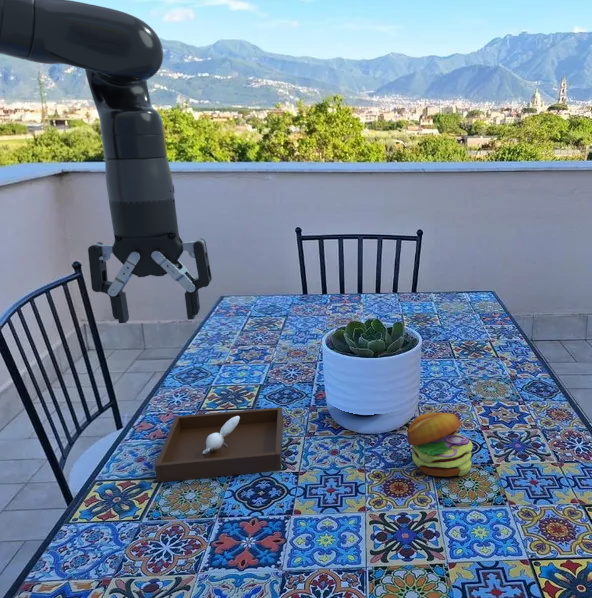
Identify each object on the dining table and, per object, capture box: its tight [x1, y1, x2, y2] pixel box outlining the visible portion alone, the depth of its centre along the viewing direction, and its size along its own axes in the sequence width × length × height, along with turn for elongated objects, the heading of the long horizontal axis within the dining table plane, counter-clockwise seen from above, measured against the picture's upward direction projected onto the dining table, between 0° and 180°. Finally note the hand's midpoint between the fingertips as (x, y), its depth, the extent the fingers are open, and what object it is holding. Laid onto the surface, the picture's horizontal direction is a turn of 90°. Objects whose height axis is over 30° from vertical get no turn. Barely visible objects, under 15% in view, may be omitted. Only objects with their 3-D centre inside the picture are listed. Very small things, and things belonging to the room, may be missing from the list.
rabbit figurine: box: [202, 416, 240, 454], centre depth 98 cm, size 6×4×8 cm
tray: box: [154, 406, 284, 484], centre depth 99 cm, size 20×17×3 cm
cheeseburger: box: [406, 412, 474, 478], centre depth 94 cm, size 10×11×10 cm
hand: (158, 319), depth 74 cm, fingers open, 8 cm apart
